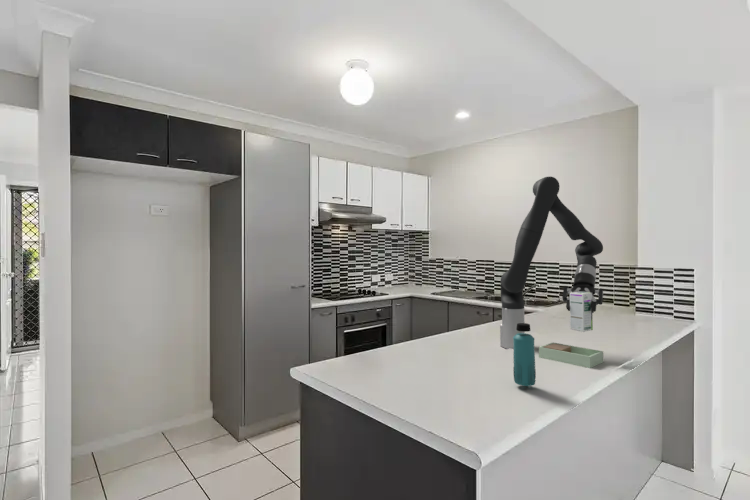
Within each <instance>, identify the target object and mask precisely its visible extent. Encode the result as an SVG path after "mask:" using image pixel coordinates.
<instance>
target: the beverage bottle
mask: <svg viewBox="0 0 750 500" xmlns="http://www.w3.org/2000/svg"><path fill="white" fill-rule="evenodd" d="M516 330H517V331H523V332H525V333H518V334H516V335H515V336H514V337H513V344H514V349H513V359H512V361H513V362H512V363H513V382H514V383H515V384H516V385H518V386H523V387H531V386H534V385H536V381H537V380H536V379H537V377H536V375H537V374H536V354H535V337H534V336H533V335H532V334H530V333H526V332H531V324H529V323H527V322H526V323H518V324H517V328H516Z"/></svg>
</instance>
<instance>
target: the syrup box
mask: <svg viewBox="0 0 750 500" xmlns="http://www.w3.org/2000/svg"><path fill="white" fill-rule="evenodd" d="M569 296H570V311H569V328H570V330H572V331H577V332H581V333H582V332H583V333H585V332H589V331H593V328H594V327H593V322H594V321H593V313H591V306H592V293H590V292H570V293H569Z"/></svg>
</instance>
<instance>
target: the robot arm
mask: <svg viewBox="0 0 750 500" xmlns="http://www.w3.org/2000/svg"><path fill="white" fill-rule="evenodd" d="M559 192H560V182H559V180H558V179H557V178H556V177H555V176H545V177H542V178H541V179H538V180H537V181H535V183H534V184H533V186H532V193H533V196H534V200H533V202H532V206H531V208H530V210H529V211H528V213H527V215H526V216H525V218H524V219H523V222H522V223H521V225H520V228H519V230H518V233H517V237H516V240H515V241H516V242H515V246H514V254H513V259H512V262H511V264H510V266H509V269H508V270H507V271H505V272H503V273H502V274H501V277H500V283H499V284H500V301H501V317H502V318H501V324H500V325H499V329H500V330H499V332H500V334H499V336H500V337H499V341H500V344H499V345H500V347H502V348H504V349H507V350H508V349H511V350H512V349H513V350H514V344H513V337H514V336H515V335H516V334H518V333H526V332H523V331H517V330H516V328H517V324H518V323H525V322H526V321H525V301H524V298H523V297H524V296H523V289H524V288H525V286H526V283H527V279H528V274H529V272H530V271H529V270H530V267H531V263H532V261H533V259H534V257H535V254H536V252H537V250H538V247H539V245H540V243H541V239H542V236H543V234H544V230H545V226H546V224H547V220H548V217H549V215H550V213H551V215H553V217H554V218H555V219H556V220H557V222H558V223H559V225H560V226H561V227H562V229H563V230H564V231H565V233H566V234H567V236H568V237H569V238H570V240H572V241H579V240H581V241H582V242H581V243H578V244H577V245H576V246H575V250H574V252H575V255H576V260H577V264H576V269H575V272H574V279H573V285H572V287H571V288H569V287H567V286H563V291H562V297H561V298H562V302H564V303H566V305H565V307H566V310H567V311H568V312H570V293H571V292H590V293H592V306H591V313H592V314H594V312H595V313H596V311H597V305H603V301H604V299H603V298H604V289H603V288H599V289H595V286H596V279H597V273H596V272H597V259H596V258H595V256H597V255H600V254H602V252H603V251H604V246H603V245H604V244H603V242H602V241H601V240H600V239H599V238H598V237H597V236H595V235H594V234H592V233H591V232H590V231H589V230H587V229H586V227H585V226H584V224H583V223H582V222H581V220H580V219H579V218H578V217H577V216H576V214H575V213H574V212H572V211H571V210H570V209H569V208H568V207H567V206H566V205H565V204H564V203H563V201H561V199H560V197H559V196H558V194H559ZM595 294H596V295H597V296H598V297H597V298H598V299H596V297H595V296H594V295H595ZM568 295H569V296H568Z"/></svg>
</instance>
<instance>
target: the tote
mask: <svg viewBox="0 0 750 500" xmlns="http://www.w3.org/2000/svg"><path fill="white" fill-rule="evenodd" d="M551 344H559V345H565V346H570V347H571V353H570V352H565V351H559V350H554V349H549V348H544V347H545V346H548V345H551ZM538 358H539V359H545V360H549V361H555V362H559V363H564V364H568V365H573V366H577V367H583V368H587V369H591V368H594V367H596V366H598V365H601V364H602V363H604V351H603V350H598V349H592V348H586V347H581V346H575V345H571V344H565V343H560V342H559V343H558V342H550V343H547V344H544V345H541V346H538Z"/></svg>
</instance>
